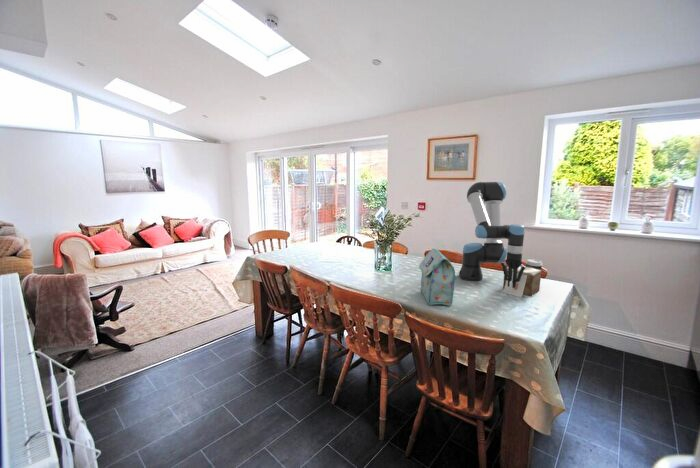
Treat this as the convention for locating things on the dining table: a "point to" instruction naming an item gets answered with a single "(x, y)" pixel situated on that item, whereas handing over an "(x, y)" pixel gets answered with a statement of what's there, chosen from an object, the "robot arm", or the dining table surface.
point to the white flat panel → (517, 286)
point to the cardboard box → (530, 280)
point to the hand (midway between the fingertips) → (510, 292)
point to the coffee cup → (534, 264)
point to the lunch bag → (437, 278)
